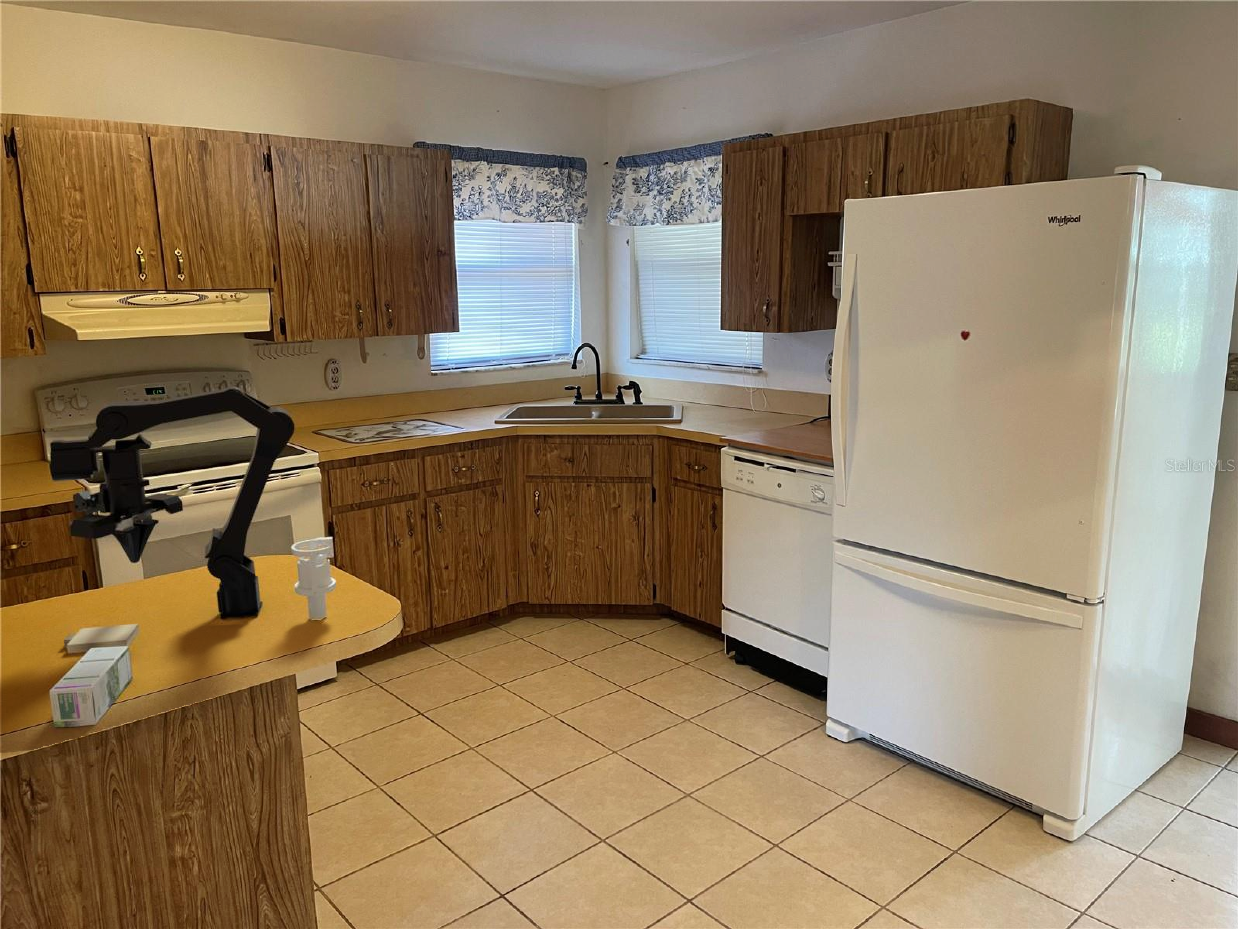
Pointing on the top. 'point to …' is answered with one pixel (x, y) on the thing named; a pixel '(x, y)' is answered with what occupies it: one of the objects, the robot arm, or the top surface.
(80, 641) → the cream flat tabbed slab
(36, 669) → the top surface
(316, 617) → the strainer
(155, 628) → the top surface
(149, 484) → the robot arm
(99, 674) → the syrup box
